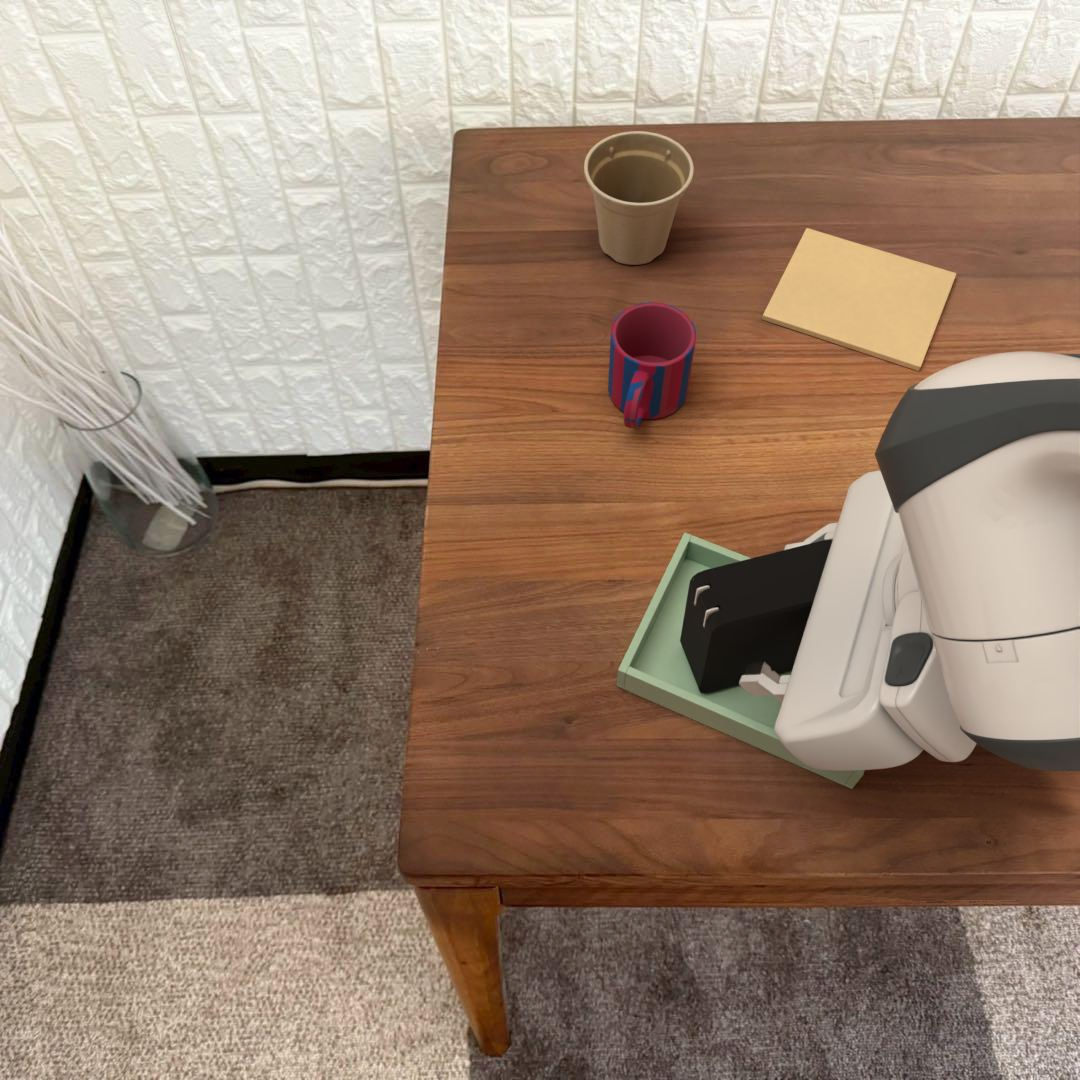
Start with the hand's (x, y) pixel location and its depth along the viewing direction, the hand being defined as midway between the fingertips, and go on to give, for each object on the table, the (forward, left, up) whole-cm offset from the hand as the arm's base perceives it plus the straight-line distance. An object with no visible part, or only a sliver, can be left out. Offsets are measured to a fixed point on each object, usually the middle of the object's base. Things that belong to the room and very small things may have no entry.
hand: (767, 618), depth 67 cm
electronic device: (0, 0, -6) cm, 6 cm away
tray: (-1, 0, -6) cm, 6 cm away
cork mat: (+3, -37, -6) cm, 37 cm away
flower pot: (+24, -35, -6) cm, 43 cm away
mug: (+16, -18, -6) cm, 25 cm away
